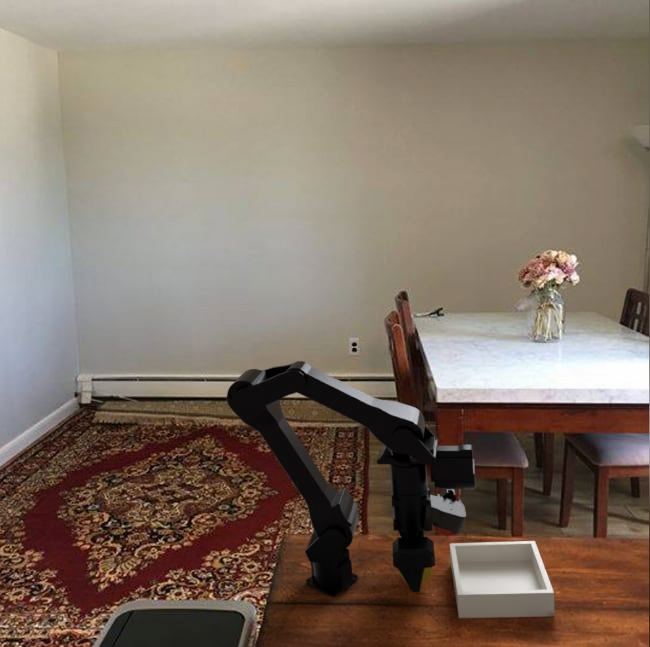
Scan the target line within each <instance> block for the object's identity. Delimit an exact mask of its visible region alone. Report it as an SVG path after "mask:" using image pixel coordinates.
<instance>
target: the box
mask: <svg viewBox="0 0 650 647" xmlns="http://www.w3.org/2000/svg"><path fill="white" fill-rule="evenodd" d="M449 552H450V553H449V554H450V556H449V557H450V567H451V575H452V580H453V588H454V595H455V602H456V608H457V615H458V616H457V617H458V619H479V618H480V619H482V618H483V619H485V618H487V619H489V618H530V617H531V618H535V617H537V618H539V617H545V618H546V617H547V618H548V617H555V592H554V588H553V586H552V583H551V581H550V578H549V576H548V573H547V571H546V567H545V565H544V563H543V562H544V561H543V560H542V557H541V554H540V551H539V548H538V546H537V543H536V541H535V540H523V541H521V540H520V541H488V542H457V543H456V542H454V543H449Z"/></svg>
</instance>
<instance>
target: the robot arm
mask: <svg viewBox="0 0 650 647" xmlns="http://www.w3.org/2000/svg"><path fill="white" fill-rule="evenodd" d="M296 393H297V394H298V395H299V394H300V395H302V396H303V397H305V398H307V399H309V400H311V401H313V402H316V403H317V404H319V405H321V406H323V407H325V408H327V409H329V410H332V411H333V412H335V413H337V414H339V415H342V416H343V417H345V418H347V419H350V420H351V421H353V422H356V423H357V424H360V425H361V426H363V427H364V428H366V429H367V430H368V431H369V432H370V433H371V434H372V436H374V437H375V439H376V440H377V441H378V442H379V443H382V444H383V445H384V448H382V449H381V450H380V451H378V456H377V459H376V462H375V463H376V464H377V465H388V466H389V473H390V474H389V476H390V488H391V491H390V492H391V508H392V517H393V519H392V521H393V522H392V523H393V525H392V526H393V531H397V532H398V533H399V536H400V537H397V538H396V539H395V540H394V541H393V542H392V567H394V568H396V569H397V570H398V572H399V571H400V573H401V574H402V576H403V577H404V579H405V580H404V579H403V580H404V581H405V583H406V584H407V586H408V587H409V589H410V591H411V592H412V593H414V594H415V593H416V594H417V593H420V592H421V587H422V584H423V583H422V578H423V573H424V569H425V568H432V569H433V567H435V566H436V554H435V548H434V547H435V546H434V544H435V543H434V541H433V540H431V539H430V538H429V537H428V536H425V535H424V534H425V533H424V532H433V531H434V530H433V526H434V527H435V528H439V529H442V530H445V531H448V532H451V533H452V534H456V535H459V534H461V532H462V528H463V526H464V523H465V521H466V518H467V512H466V507H465V504H464V503H462V500H461V499H460V500H459V499H458V500H457V496H456V490H476V469H475V468H476V466H475V459H474V454H473V452H474V451H473V445H472V444H460V445H439V439H438V437H437V436H436V435H435V434H434V433H433V432H432V430H430V428H429V427H428V426H427V425H426V421H425V417H424V415H423V413H422V411H421V410H419V409H418V408H416V407H415V406H413V405H408V404H406V403H402V402H400V401H394V400H387V399H379V398H377V397H374V396H372V395H369V394H368V393H365V392H363V391H362V390H359V389H358V388H355V387H354V386H351V385H349V384H347V383H345V382H343V381H341V380H339V379H336V378H335V377H333V376H331V375H329V374H327V373H325V372H323V371H321V370H319V369H317V368H314V367H313V366H311V365H310V364H309V363H308V362H305V361H303V360H299V361H298V360H297V361H294V362H293V363H290V364H285V365H277V366H272V367H270V368H266V369H263V370H262V369H257V368H250V369H247V370H245V371H244V372H243V373H242V374H240V375H239V377H237V379H236V380H235V381H233V383H231V385H230V386H229V387H228V390H227V393H226V403H227V405H228V407H229V409H230V410H231V411H232V412H233V413H234V414H235V415H236V416H237V417H238V418H239V420H240V421H242V422H243V423H244V424H245V425H246V426H248V427H250V428H252V429H253V430H255V431H257V432H258V433H259V434H260V435H261V437H262V438H263V440H264V442H265V443H266V444H267V446H268V447H269V449H270V451H271V453H272V454H273V455H274V456H275V458H276V460H277V461H278V463H279V464H280V466H281V467H282V469H283V471H284V472H285V473H286V475H287V476H288V478H289V479H290V481H291V483H292V484H293V486H295V488H296V490H297V491H298V493H299V495H300V496H301V497H302V498H303V500H304V502H305V504H306V506H307V509H308V513H309V519H310V522H311V527H312V529H313V530H312V534H311V537H310V539H309V541H308V544H307V546H306V548H305V551H304V553H305V554H306V557H307V559H308V562H310V567H311V576H310V577H309V578H307V579H306V580H305V584H306V585H308V586H309V587H311V588H312V589H315V590H317V591H319V592H321V593H323V594H325V595H327V596H329V597H336V596H337V595H339V594H340V593H341V592H342V591H345V589H347V588H348V587H349V586H351V585H352V584H353V583H354V582H356V581H357V580H359V577H358V576H359V575H357V574H356V573H354V572H353V568H352V566H353V565H352V560H351V558H350V549H348V548H349V547H350V545H351V544H352V542H353V539H354V536H355V532H356V529H357V525H358V522H359V511H358V507H359V503H357V502H356V501H354V500H353V498H352V497H351V495H350V493H349V491H348V489H347V487H346V486H344V487H343V488H341V489H340V490H338V489H337V488H335V487H333V486H331V485H330V483H328V481H327V480H326V478H325V476H324V475H323V473H322V472H321V471H320V469H319V467H318V466H317V464H316V463H315V461H314V459H313V458H312V457H311V455H310V454H309V452H308V450H307V449H306V448H305V446H304V445H303V443H302V441H301V440H300V439H299V437H298V435H297V434H296V432H295V431H294V430H293V428H292V427H291V426H292V425H290V423H289V422H288V420H287V419H286V417H285V416H284V414H283V411H282V406H281V400H280V399H283V398H285V397H288V396H290V395H294V394H296ZM427 465H429V467H430V471H429V472H430V481H431V482H430V483H432V484H433V483H434V487H435V488H438V490H442V491H441V492H440V493H437V494H436V495H433V494H431V493H430V492H431V491H430V487H429V486H428V472H427V470H428V468H427ZM400 573H399V574H400ZM421 583H422V584H421Z"/></svg>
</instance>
